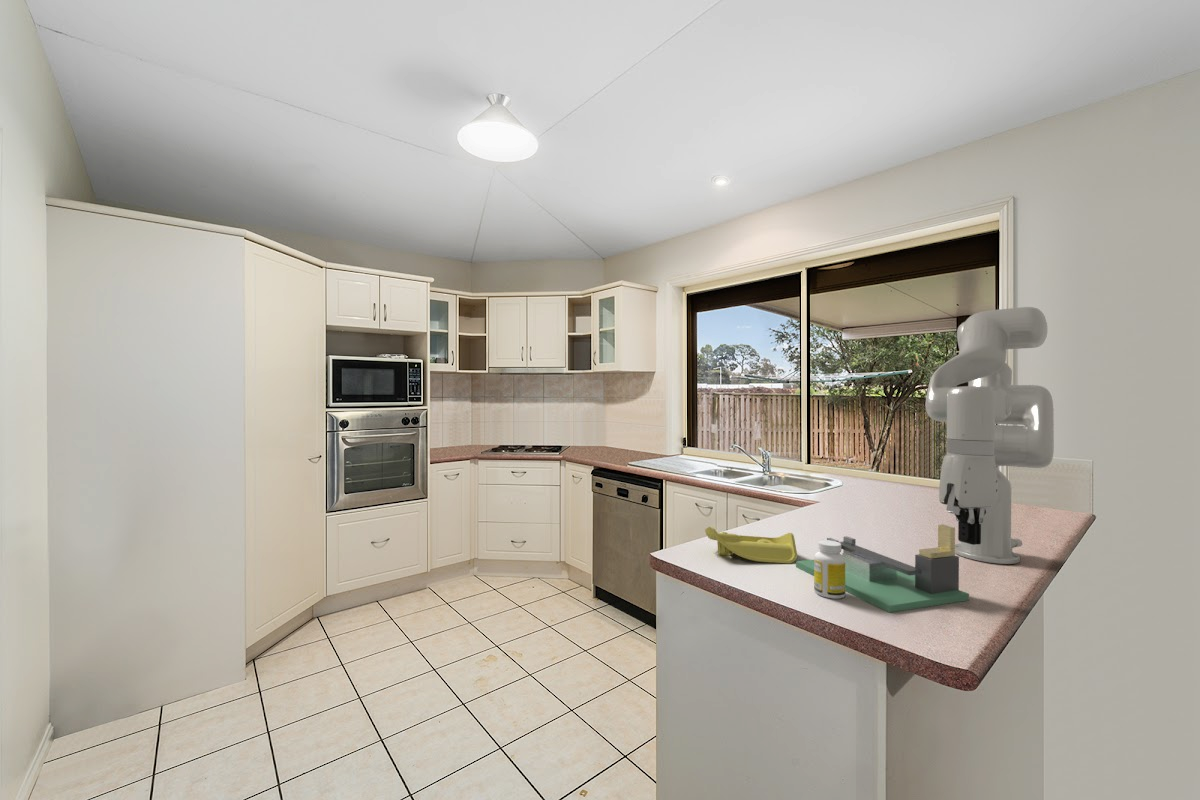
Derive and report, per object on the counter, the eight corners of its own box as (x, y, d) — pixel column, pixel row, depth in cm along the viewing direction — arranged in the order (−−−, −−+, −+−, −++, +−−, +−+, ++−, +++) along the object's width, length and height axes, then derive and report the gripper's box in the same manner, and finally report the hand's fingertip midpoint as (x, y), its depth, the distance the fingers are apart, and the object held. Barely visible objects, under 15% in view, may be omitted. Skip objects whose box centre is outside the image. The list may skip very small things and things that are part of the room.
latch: (942, 552, 94) (942, 524, 94) (954, 555, 92) (955, 527, 92) (919, 554, 92) (919, 526, 92) (931, 558, 90) (931, 529, 90)
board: (863, 559, 112) (864, 532, 113) (968, 600, 90) (969, 565, 90) (796, 566, 107) (796, 538, 107) (889, 612, 84) (889, 575, 84)
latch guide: (942, 583, 94) (942, 551, 94) (958, 589, 91) (958, 556, 91) (915, 587, 92) (915, 554, 92) (930, 593, 89) (931, 560, 89)
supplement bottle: (849, 594, 92) (849, 543, 92) (839, 602, 88) (839, 548, 88) (820, 586, 96) (820, 537, 96) (809, 593, 92) (809, 542, 92)
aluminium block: (868, 566, 104) (868, 550, 104) (896, 577, 97) (896, 560, 97) (842, 569, 102) (842, 553, 102) (869, 581, 95) (869, 563, 95)
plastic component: (778, 538, 121) (795, 531, 112) (781, 569, 118) (799, 564, 109) (700, 532, 121) (711, 524, 112) (701, 563, 117) (712, 557, 109)
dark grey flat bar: (844, 545, 108) (844, 540, 108) (921, 574, 90) (921, 569, 90) (833, 546, 107) (833, 541, 107) (909, 576, 89) (909, 570, 89)
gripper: (977, 447, 100) (977, 535, 100) (923, 447, 96) (922, 539, 96) (1018, 450, 93) (1017, 545, 93) (961, 451, 89) (960, 551, 88)
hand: (969, 542), depth 94 cm, fingers closed
